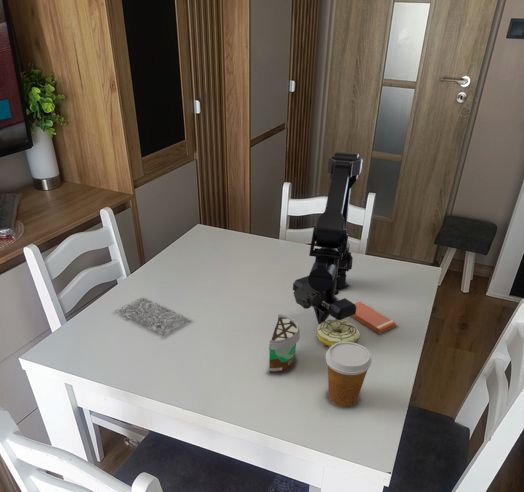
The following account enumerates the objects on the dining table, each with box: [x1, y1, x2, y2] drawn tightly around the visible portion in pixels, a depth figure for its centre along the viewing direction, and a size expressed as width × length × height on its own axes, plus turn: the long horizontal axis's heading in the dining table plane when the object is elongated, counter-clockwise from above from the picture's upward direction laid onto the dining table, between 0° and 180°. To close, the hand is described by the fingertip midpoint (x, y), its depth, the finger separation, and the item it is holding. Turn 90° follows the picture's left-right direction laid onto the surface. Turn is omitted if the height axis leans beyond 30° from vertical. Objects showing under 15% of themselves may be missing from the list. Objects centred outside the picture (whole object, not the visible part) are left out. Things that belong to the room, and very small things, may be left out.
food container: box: [268, 313, 301, 374], centre depth 114 cm, size 12×6×10 cm, turn 168°
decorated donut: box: [316, 318, 360, 348], centre depth 124 cm, size 10×11×4 cm
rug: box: [114, 297, 190, 336], centre depth 133 cm, size 10×20×1 cm, turn 52°
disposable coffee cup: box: [325, 342, 373, 408], centre depth 103 cm, size 10×10×12 cm
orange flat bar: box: [350, 301, 397, 335], centre depth 133 cm, size 14×6×1 cm, turn 35°
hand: (320, 324), depth 129 cm, fingers closed
